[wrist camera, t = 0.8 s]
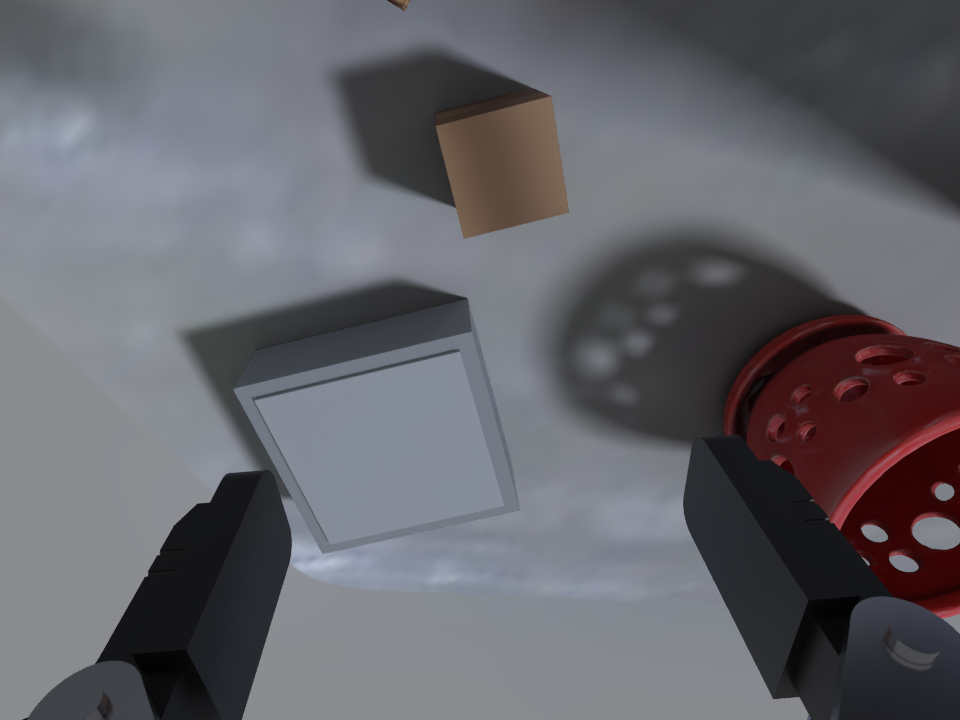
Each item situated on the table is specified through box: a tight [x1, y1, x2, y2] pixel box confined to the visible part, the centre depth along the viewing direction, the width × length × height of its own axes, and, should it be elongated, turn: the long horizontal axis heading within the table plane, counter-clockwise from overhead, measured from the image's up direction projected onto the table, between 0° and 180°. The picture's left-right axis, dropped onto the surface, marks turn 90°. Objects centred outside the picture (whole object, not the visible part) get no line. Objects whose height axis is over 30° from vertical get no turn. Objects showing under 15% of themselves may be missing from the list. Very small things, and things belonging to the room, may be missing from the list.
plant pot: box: [723, 315, 960, 618], centre depth 29 cm, size 13×13×12 cm
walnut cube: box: [435, 88, 569, 239], centre depth 24 cm, size 4×4×5 cm
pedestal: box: [233, 299, 520, 554], centre depth 31 cm, size 12×12×4 cm
